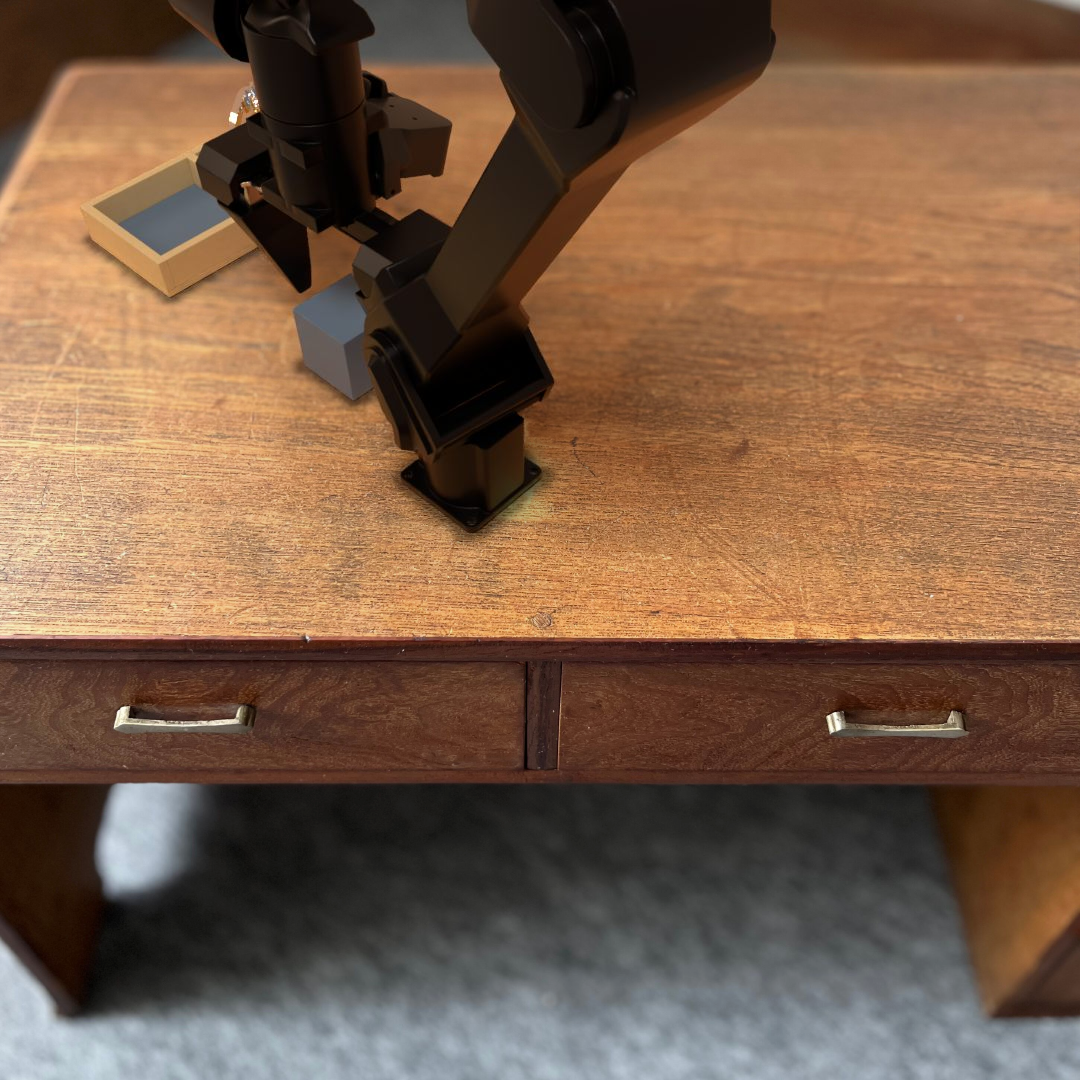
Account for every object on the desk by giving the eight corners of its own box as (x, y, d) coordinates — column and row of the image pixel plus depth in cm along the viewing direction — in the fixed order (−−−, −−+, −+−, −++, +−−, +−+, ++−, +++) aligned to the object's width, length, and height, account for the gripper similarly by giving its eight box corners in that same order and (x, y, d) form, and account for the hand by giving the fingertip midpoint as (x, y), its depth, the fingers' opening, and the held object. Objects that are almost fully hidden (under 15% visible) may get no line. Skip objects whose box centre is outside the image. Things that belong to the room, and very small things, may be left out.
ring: (258, 208, 83) (236, 113, 77) (229, 193, 84) (205, 98, 78) (321, 167, 86) (305, 73, 80) (293, 153, 87) (274, 59, 81)
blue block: (408, 363, 73) (401, 306, 69) (353, 401, 71) (343, 344, 67) (359, 330, 75) (350, 272, 71) (304, 365, 73) (291, 308, 69)
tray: (288, 136, 90) (281, 103, 87) (367, 184, 86) (362, 150, 83) (91, 239, 81) (78, 205, 79) (169, 298, 77) (158, 264, 75)
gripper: (540, 102, 58) (538, 325, 70) (313, -12, 65) (347, 208, 77) (387, 191, 52) (414, 415, 65) (161, 57, 60) (223, 280, 72)
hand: (349, 320), depth 70 cm, fingers open, 9 cm apart
